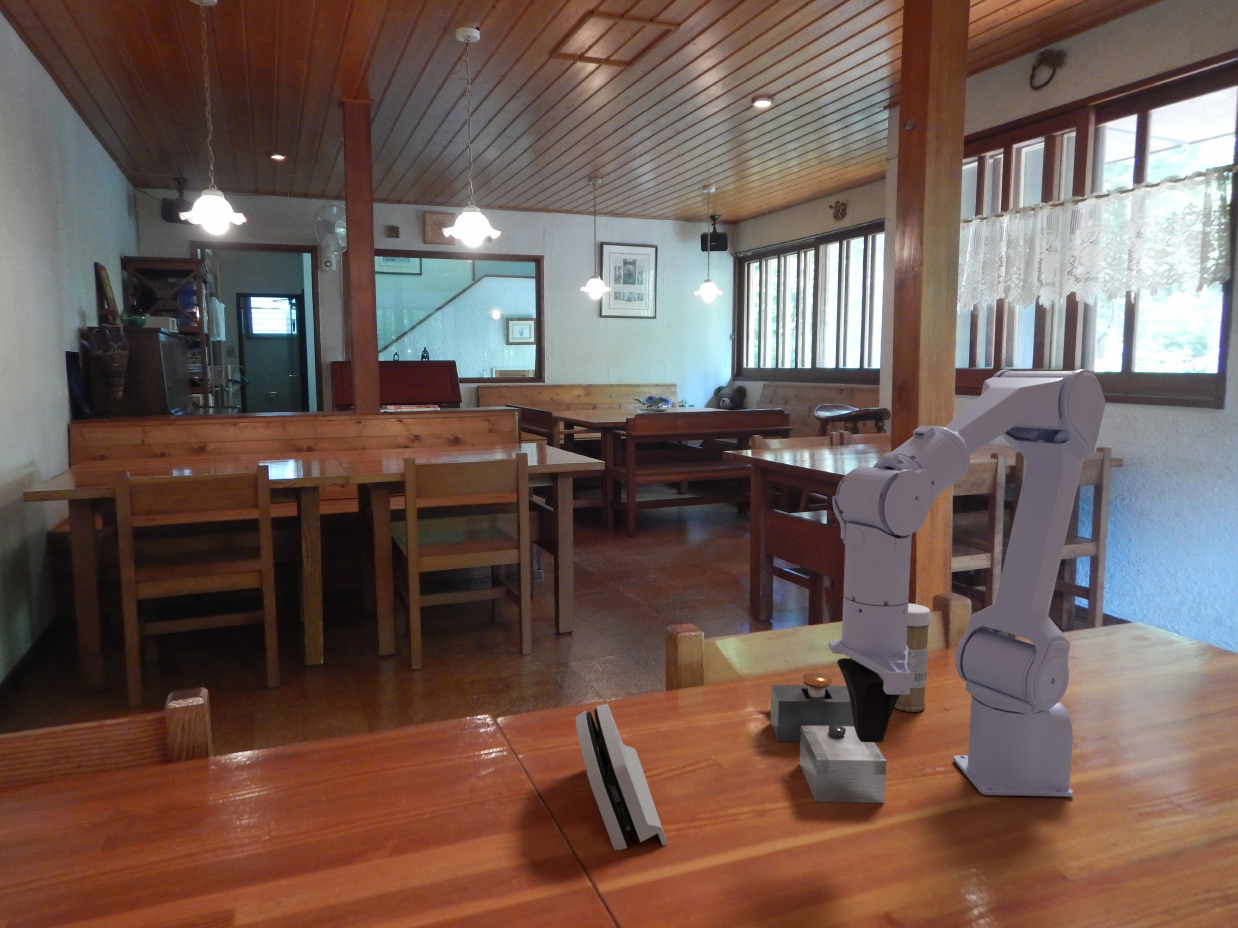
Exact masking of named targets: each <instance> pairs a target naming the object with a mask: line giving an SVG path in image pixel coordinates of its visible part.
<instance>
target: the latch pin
mask: <svg viewBox="0 0 1238 928" xmlns="http://www.w3.org/2000/svg"><path fill="white" fill-rule="evenodd" d="M832 681H833V678H832V677H831V676H830V675H828V674H827V673H823V672H822V673H821V672H807V673H804V674H803V675H802V683H803V685H807V686H808V699H825V688H826V687H829V686H832Z"/></svg>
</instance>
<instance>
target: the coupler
mask: <svg viewBox="0 0 1238 928" xmlns="http://www.w3.org/2000/svg"><path fill="white" fill-rule="evenodd" d="M770 694H771V695H770V726H771V728H772V731H773V734H774V737H775V739H776V741H777V742H780V743H781V742H785V743H786V742H787V743H788V742H792V743H794V742H795V743H796V742H797V743H800V736H801V726H831V725H839V726H854V721H853V715H852V708H851V702H850V697H849V693H848V689H847V686H846V685H831V686H829V687H826V688H825V699H808V686H807V685H805V684H771V693H770Z"/></svg>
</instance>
